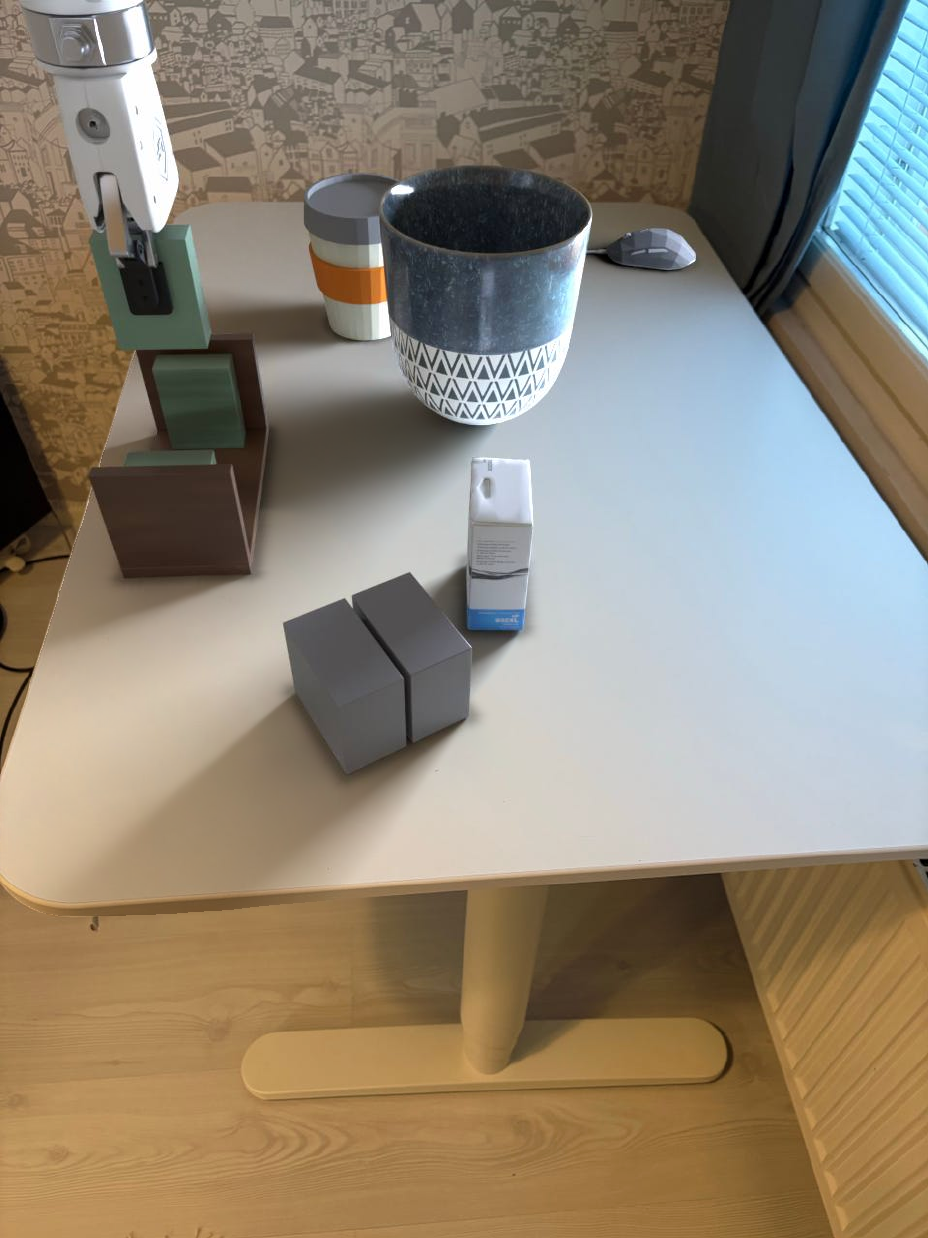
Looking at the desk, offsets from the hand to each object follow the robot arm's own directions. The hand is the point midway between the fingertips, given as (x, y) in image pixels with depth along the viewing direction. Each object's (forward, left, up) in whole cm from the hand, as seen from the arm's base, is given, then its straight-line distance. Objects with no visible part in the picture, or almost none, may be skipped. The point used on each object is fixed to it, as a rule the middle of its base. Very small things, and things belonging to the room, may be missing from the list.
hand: (155, 300), depth 72 cm
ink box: (+17, -24, -21) cm, 36 cm away
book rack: (0, +1, -20) cm, 20 cm away
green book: (0, 0, -4) cm, 4 cm away
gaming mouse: (+69, +20, -21) cm, 75 cm away
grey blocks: (+3, -30, -20) cm, 36 cm away
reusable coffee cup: (+29, +23, -21) cm, 42 cm away
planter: (+31, +1, -21) cm, 37 cm away
